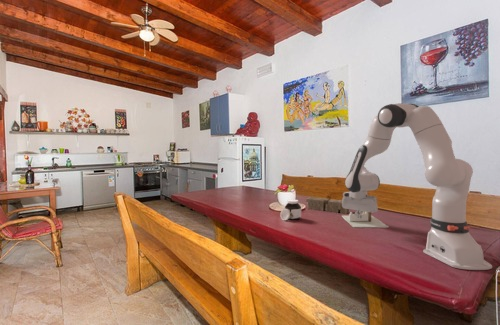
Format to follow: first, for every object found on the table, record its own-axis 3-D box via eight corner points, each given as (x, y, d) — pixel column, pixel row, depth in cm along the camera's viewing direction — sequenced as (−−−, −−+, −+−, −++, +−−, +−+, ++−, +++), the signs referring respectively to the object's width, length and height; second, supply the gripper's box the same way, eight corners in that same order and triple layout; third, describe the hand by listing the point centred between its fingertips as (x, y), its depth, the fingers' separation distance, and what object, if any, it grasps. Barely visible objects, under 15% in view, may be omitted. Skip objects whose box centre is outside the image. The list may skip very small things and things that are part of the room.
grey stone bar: (350, 213, 181) (310, 206, 199) (350, 201, 181) (310, 195, 198) (346, 215, 175) (305, 208, 192) (346, 203, 174) (306, 197, 192)
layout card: (388, 227, 144) (388, 226, 144) (353, 227, 146) (353, 226, 146) (371, 216, 168) (371, 215, 168) (341, 216, 170) (341, 215, 170)
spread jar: (302, 217, 167) (302, 199, 167) (297, 222, 157) (297, 203, 157) (284, 216, 172) (284, 198, 172) (278, 220, 162) (278, 201, 162)
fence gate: (349, 221, 155) (349, 212, 155) (349, 220, 156) (349, 212, 156) (368, 220, 155) (368, 212, 155) (367, 220, 156) (367, 211, 156)
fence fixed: (371, 222, 155) (371, 210, 155) (368, 222, 155) (369, 210, 155) (363, 216, 168) (363, 206, 167) (361, 216, 168) (361, 206, 168)
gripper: (379, 195, 147) (379, 220, 148) (345, 192, 163) (346, 214, 163) (374, 196, 143) (374, 222, 144) (340, 193, 159) (340, 216, 159)
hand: (359, 217), depth 154 cm, fingers closed
